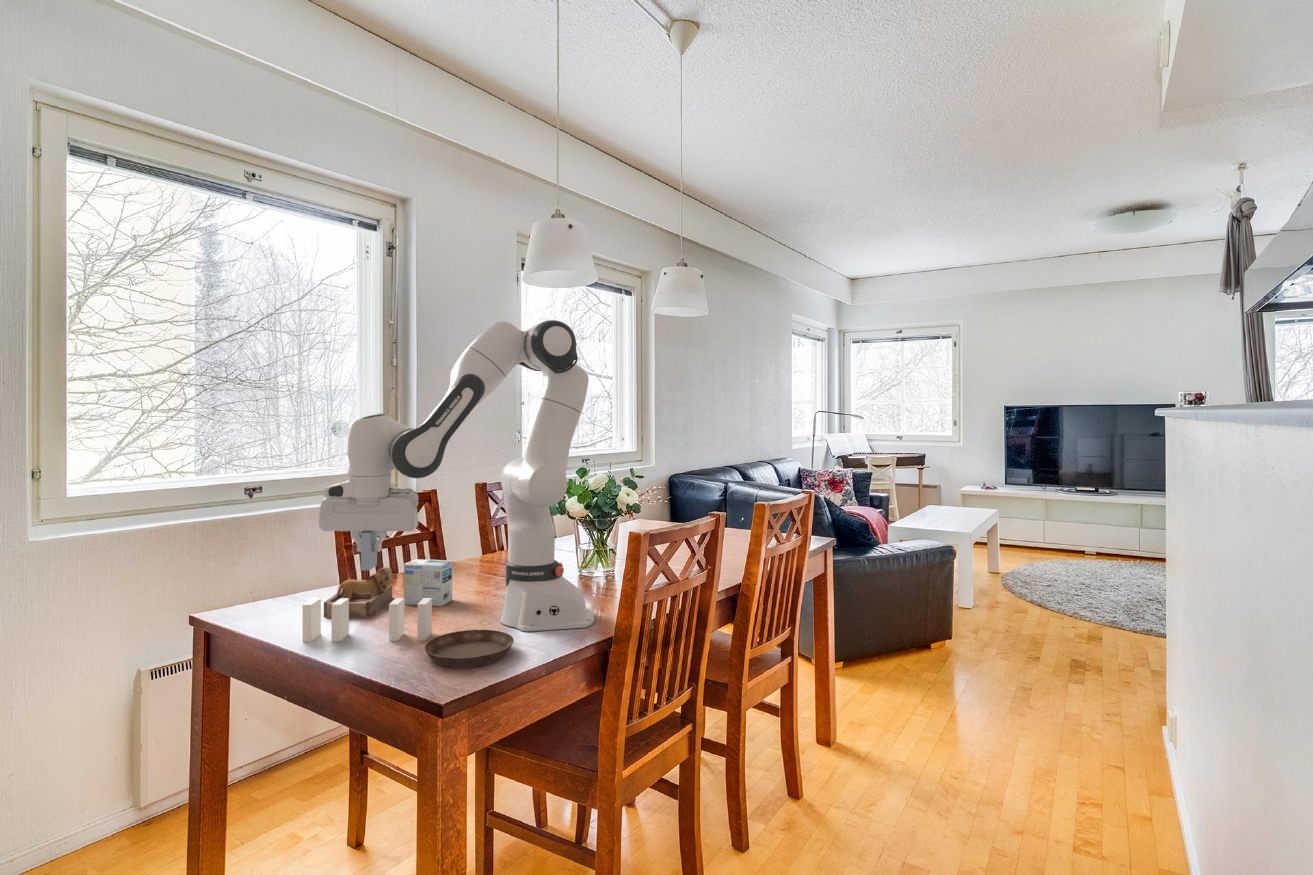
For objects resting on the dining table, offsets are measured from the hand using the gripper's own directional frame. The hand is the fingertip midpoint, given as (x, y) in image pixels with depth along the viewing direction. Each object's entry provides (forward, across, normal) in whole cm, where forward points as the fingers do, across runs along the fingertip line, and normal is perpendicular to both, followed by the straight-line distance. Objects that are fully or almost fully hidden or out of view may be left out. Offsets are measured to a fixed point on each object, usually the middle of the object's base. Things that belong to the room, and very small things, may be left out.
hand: (369, 551), depth 148 cm
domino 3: (+4, 0, 0) cm, 4 cm away
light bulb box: (+19, -6, -28) cm, 35 cm away
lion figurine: (+19, +9, -24) cm, 32 cm away
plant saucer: (+20, -24, +12) cm, 33 cm away
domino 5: (+19, -12, 0) cm, 23 cm away
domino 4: (+19, -6, 0) cm, 20 cm away
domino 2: (+19, +6, 0) cm, 20 cm away
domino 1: (+19, +12, 0) cm, 23 cm away
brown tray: (+19, +10, -24) cm, 32 cm away
